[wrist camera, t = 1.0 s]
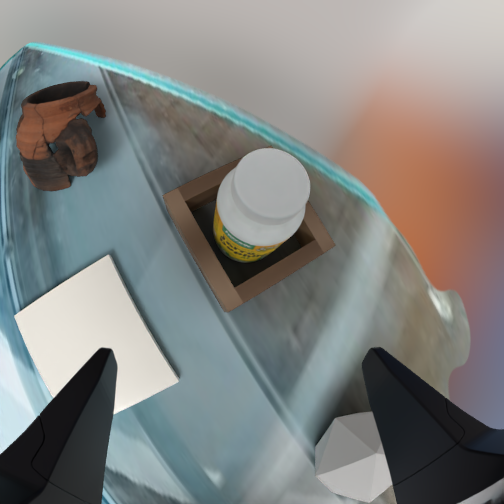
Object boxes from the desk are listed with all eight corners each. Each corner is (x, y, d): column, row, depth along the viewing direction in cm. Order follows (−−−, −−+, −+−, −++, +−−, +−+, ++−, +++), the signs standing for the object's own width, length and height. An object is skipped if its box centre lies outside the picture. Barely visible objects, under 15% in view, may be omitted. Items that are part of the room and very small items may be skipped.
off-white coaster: (179, 379, 20) (179, 381, 19) (78, 428, 17) (74, 431, 17) (111, 256, 21) (108, 254, 20) (18, 315, 18) (14, 315, 17)
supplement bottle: (281, 208, 24) (327, 152, 15) (271, 270, 23) (319, 243, 14) (219, 194, 24) (233, 126, 14) (205, 256, 22) (209, 218, 13)
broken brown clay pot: (14, 175, 21) (0, 103, 15) (83, 139, 27) (80, 73, 21) (62, 228, 18) (40, 130, 12) (147, 175, 24) (151, 90, 19)
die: (319, 486, 20) (411, 500, 14) (274, 484, 16) (395, 511, 10) (343, 416, 25) (432, 419, 19) (307, 394, 21) (424, 399, 15)
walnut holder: (320, 253, 24) (335, 245, 21) (224, 312, 22) (228, 312, 19) (263, 162, 25) (271, 145, 22) (166, 209, 22) (162, 195, 20)
